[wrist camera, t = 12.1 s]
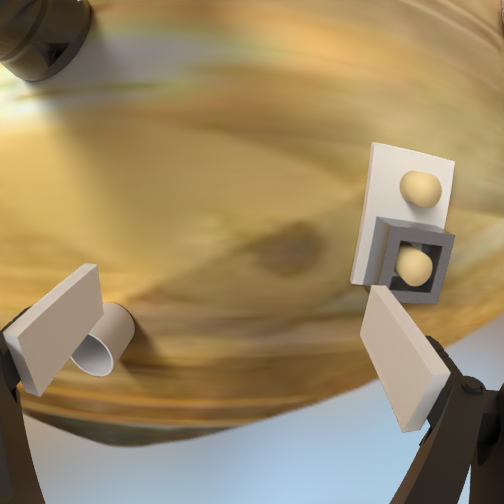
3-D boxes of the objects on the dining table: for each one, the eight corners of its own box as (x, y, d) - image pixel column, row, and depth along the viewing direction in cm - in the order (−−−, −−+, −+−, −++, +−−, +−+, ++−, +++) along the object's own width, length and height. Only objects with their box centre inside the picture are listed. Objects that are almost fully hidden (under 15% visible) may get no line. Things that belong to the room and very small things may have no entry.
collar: (376, 216, 37) (391, 225, 32) (435, 225, 37) (454, 235, 32) (362, 284, 40) (374, 300, 35) (420, 288, 40) (436, 304, 35)
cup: (137, 308, 44) (113, 341, 35) (134, 360, 47) (114, 396, 38) (94, 294, 43) (64, 323, 35) (94, 347, 46) (70, 379, 38)
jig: (371, 142, 35) (391, 141, 29) (450, 161, 35) (478, 164, 29) (349, 280, 41) (363, 302, 35) (425, 286, 41) (446, 307, 34)
